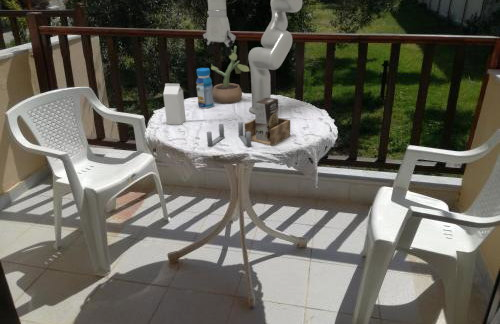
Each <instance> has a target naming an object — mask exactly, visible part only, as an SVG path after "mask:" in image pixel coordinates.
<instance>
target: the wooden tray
mask: <svg viewBox="0 0 500 324" xmlns="http://www.w3.org/2000/svg"><path fill="white" fill-rule="evenodd" d="M243 126H244V136H245V138H246V132H248V131H250V132H251V142H255V143H257V144H258V143H260V144H263V145H267V146H271V147H272V146H274V145H276V144H278V143H280V142H282V141H284V140H285V139H287V138H289V137H290V136H291V119H286V118H281V117H278V125H277V126H276V127H274V128H272V129H270V140H269V141H265V140H260V139H256V123H255V118H254V119H252V120H250V121H248V122H245V123H244V124H243Z"/></svg>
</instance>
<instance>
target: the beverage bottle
mask: <svg viewBox="0 0 500 324" xmlns="http://www.w3.org/2000/svg"><path fill="white" fill-rule="evenodd" d="M210 69H211V68H209V67H200V68H199V67H198V68H197V69H196V75H197V78H196V82H195V84H196V94H197V95H196V96H197V103H198V105H197V106H198V107H199V108H201V109H210V108H213V107H214V105H215V104H214V100H213V88H214V86H213V84H212V82H213V80H212V78H211V76H210V75H211V70H210Z"/></svg>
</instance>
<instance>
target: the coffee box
mask: <svg viewBox="0 0 500 324" xmlns="http://www.w3.org/2000/svg"><path fill="white" fill-rule="evenodd" d="M278 118H279V99H278V98H275V97H274V98H273V97H271V98H264V99H262V100H260V101H257V102H255V113H254V119H255V123H256V139H260V140H265V141H269V140H270V129H272V128H274V127H276V126H277V125H278Z"/></svg>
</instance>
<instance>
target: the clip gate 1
mask: <svg viewBox="0 0 500 324" xmlns="http://www.w3.org/2000/svg"><path fill="white" fill-rule="evenodd" d="M224 126H225V125H224V123H219V124H218V134H219V135H218V136H217V137H215V138H214V139H213V135H212V134H213V133H212V132H213V131H207V132H206V140H207V141H206V143H207V147H210V148H211V147H214V146H215V145H216V144H219V142H220V141H222V140H224V139H225V130H224V129H225V128H224Z"/></svg>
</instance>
